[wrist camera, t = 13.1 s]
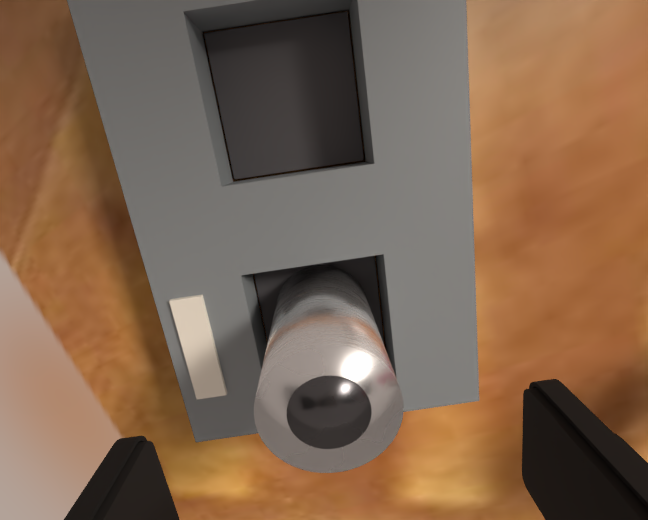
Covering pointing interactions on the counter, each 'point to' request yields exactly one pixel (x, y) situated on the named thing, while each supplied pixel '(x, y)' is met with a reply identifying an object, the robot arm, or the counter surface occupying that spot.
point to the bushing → (326, 376)
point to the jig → (293, 178)
